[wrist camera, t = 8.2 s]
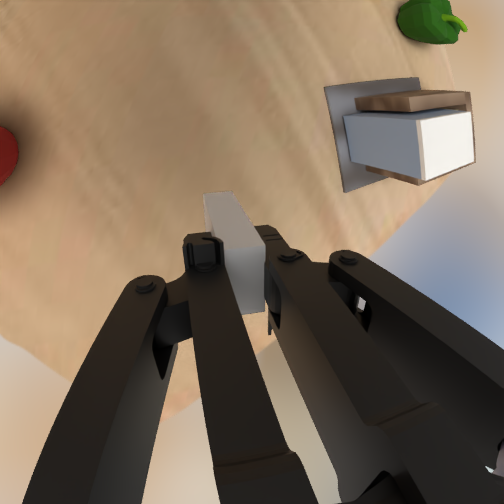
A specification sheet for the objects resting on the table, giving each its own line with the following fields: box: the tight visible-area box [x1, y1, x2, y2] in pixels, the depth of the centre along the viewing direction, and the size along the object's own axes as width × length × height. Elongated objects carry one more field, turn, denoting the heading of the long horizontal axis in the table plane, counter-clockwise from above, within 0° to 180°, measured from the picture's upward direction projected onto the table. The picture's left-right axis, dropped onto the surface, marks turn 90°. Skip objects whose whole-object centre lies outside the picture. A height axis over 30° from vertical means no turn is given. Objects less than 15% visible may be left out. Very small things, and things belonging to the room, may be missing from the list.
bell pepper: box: [397, 0, 467, 44], centre depth 29 cm, size 8×8×10 cm
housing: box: [324, 77, 476, 193], centre depth 35 cm, size 14×18×10 cm
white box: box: [343, 108, 474, 181], centre depth 32 cm, size 6×10×13 cm, turn 105°
